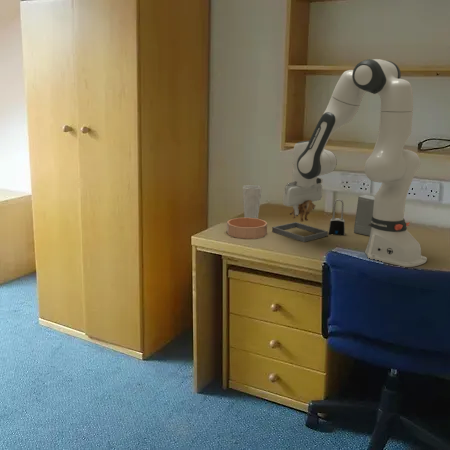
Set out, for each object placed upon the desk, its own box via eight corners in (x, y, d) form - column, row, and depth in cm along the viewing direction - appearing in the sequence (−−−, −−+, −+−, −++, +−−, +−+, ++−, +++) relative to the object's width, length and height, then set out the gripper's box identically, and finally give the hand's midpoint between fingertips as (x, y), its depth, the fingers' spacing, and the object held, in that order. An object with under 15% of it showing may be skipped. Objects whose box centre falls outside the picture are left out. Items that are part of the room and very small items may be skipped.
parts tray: (327, 236, 241) (327, 231, 240) (303, 242, 232) (304, 237, 231) (295, 226, 254) (295, 222, 254) (272, 231, 245) (272, 227, 245)
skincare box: (353, 232, 246) (356, 196, 242) (361, 229, 251) (364, 193, 247) (371, 236, 241) (375, 199, 236) (379, 233, 246) (382, 196, 242)
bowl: (274, 234, 242) (274, 223, 241) (245, 240, 232) (245, 230, 231) (248, 225, 254) (248, 215, 253) (219, 231, 244) (219, 221, 243)
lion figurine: (316, 221, 237) (317, 200, 235) (306, 223, 235) (307, 201, 232) (294, 214, 249) (294, 194, 247) (284, 216, 247) (284, 195, 245)
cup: (245, 217, 268) (245, 184, 264) (262, 219, 265) (264, 185, 261) (239, 221, 260) (240, 187, 256) (257, 223, 257) (258, 189, 253)
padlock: (328, 234, 243) (330, 199, 239) (328, 231, 247) (331, 197, 243) (344, 235, 242) (347, 200, 238) (344, 233, 246) (347, 198, 242)
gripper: (290, 184, 228) (290, 218, 231) (325, 178, 241) (324, 211, 244) (279, 182, 233) (278, 216, 236) (313, 176, 245) (312, 208, 249)
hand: (302, 213), depth 240 cm, fingers closed on lion figurine, 4 cm apart
